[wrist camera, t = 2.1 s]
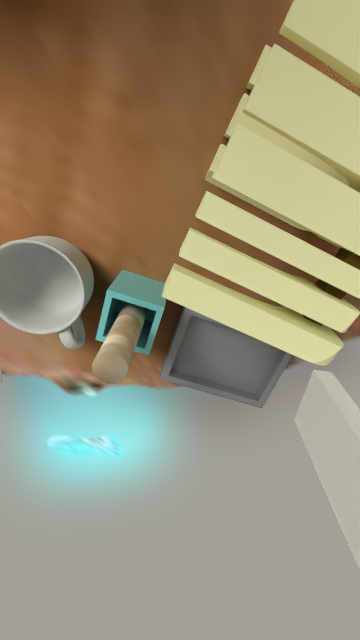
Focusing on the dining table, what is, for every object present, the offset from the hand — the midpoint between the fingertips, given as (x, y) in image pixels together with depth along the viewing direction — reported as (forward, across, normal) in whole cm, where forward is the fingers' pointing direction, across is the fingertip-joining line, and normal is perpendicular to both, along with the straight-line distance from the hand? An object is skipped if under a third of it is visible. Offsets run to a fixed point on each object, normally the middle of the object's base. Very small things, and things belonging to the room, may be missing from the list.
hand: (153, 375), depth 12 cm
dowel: (+26, -4, -7) cm, 28 cm away
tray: (+27, +9, -14) cm, 32 cm away
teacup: (+28, -14, -6) cm, 32 cm away
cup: (+27, -4, -7) cm, 29 cm away
